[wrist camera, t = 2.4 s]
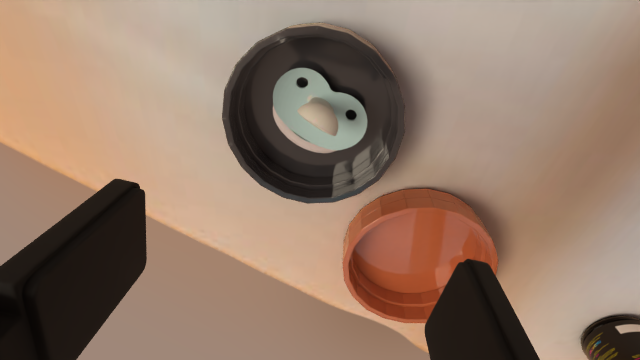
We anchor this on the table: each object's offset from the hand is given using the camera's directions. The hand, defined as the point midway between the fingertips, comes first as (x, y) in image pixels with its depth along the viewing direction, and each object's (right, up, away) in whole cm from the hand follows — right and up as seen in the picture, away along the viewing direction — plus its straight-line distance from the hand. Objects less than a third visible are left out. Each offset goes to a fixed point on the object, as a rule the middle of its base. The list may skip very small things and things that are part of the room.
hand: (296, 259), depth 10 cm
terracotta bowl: (+10, -4, +23) cm, 25 cm away
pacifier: (0, +8, +17) cm, 19 cm away
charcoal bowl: (0, +8, +18) cm, 19 cm away
